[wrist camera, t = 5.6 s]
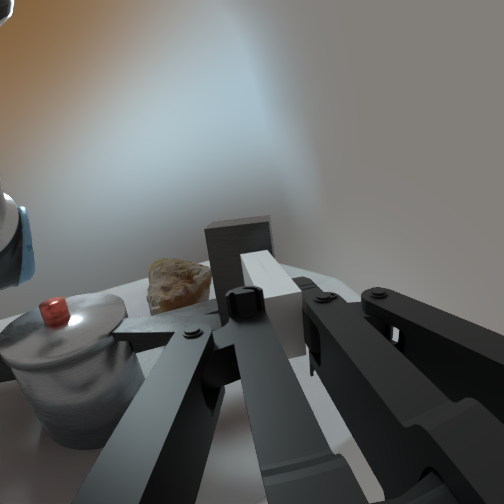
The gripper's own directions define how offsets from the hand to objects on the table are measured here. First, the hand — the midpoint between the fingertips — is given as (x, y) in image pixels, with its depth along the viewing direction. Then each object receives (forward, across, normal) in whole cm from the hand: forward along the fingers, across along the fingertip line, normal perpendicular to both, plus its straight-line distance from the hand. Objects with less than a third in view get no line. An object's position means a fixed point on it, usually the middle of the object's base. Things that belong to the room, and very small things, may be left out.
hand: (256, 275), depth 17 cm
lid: (+6, -11, -5) cm, 14 cm away
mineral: (+36, -11, -15) cm, 40 cm away
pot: (+8, -15, -14) cm, 23 cm away
